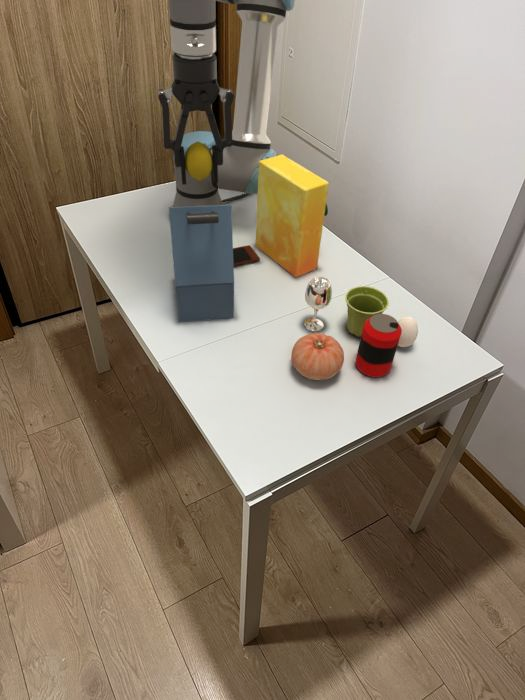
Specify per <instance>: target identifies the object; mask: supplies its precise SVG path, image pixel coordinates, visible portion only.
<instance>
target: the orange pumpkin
mask: <svg viewBox="0 0 525 700" xmlns="http://www.w3.org/2000/svg"><path fill="white" fill-rule="evenodd" d="M344 353H345V352H344V350H343V347H342V346H341V343H339V342H338V340H336V339H335V338H334V337H333V336H331V335H327V334H326V333H323V332H322V333H320V332H313V333H308V334H305V335H303V336H302V337H301V336H300V337H299V339H297V340H296V342H295V343H294V345H293V347H292V348H291V355H290V356H291V357H290V358H291V363H292V365H293V367H294V368H295V370H296V371H297V372H298V373H299V374H300V375H301V376H303V377H305V378H307V379H309V380H314V381H322V380H323V381H324V380H327V379H330V378H332V377H334V376H336V375H337V374H338V373H339V372H340V370H341V369H342V368H343V365H344V362H345V354H344Z"/></svg>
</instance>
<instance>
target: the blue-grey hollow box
mask: <svg viewBox="0 0 525 700" xmlns="http://www.w3.org/2000/svg"><path fill="white" fill-rule="evenodd" d="M175 296H176V306H177V307H176V309H177V320H178V323H184V322H185V323H187V322H196V321H198V322H199V321H208V320H209V321H211V320H225V319H234V318H235V282H234V283H219V284H204V285H189V286H175Z"/></svg>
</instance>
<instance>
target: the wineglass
mask: <svg viewBox="0 0 525 700" xmlns="http://www.w3.org/2000/svg"><path fill="white" fill-rule="evenodd" d="M332 296H333V288H332V282H331V280H330V279H329V278H328V277H324V276H320V275H318V276H313V277H312V278H310V279H309V281H308V283H307V285H306V288H305V292H304V300H305V302H306V305H308V306H309V307H310V308H311V309H313V315H314V316H313V317H310V318H307V319H306V320H305V321H304V323H303V325H304V328H306V329H307V330H308V331H309V332H310V331H311V332H319V331H322V330H323V329H324V327H325V326H324V322H323V321H322V320H321V319H319V318H317V315H318V313H319V310H322V309H325V308H327V307H328V306H329V305H330V303H331V300H332Z"/></svg>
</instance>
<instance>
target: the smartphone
mask: <svg viewBox="0 0 525 700" xmlns="http://www.w3.org/2000/svg"><path fill="white" fill-rule="evenodd" d="M259 261H261V259H260V257H259V256H258V254H257V253H256V251H255V250H254V248H253V247H252V246H251V245H242V246H237V247H233V263H234V267H238V266H243V265H248V264H253V263H257V262H259Z"/></svg>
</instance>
